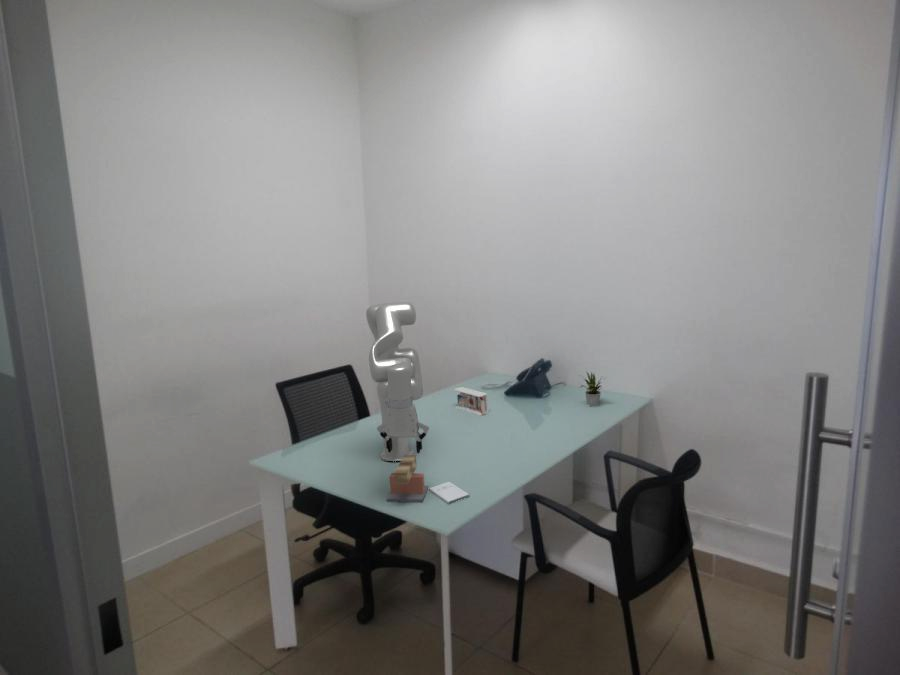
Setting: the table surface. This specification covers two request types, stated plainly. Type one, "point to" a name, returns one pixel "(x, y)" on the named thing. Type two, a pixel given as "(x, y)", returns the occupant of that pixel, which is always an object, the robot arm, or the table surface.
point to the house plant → (592, 391)
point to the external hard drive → (449, 492)
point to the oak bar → (405, 469)
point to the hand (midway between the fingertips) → (404, 451)
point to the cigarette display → (472, 400)
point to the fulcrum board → (408, 496)
